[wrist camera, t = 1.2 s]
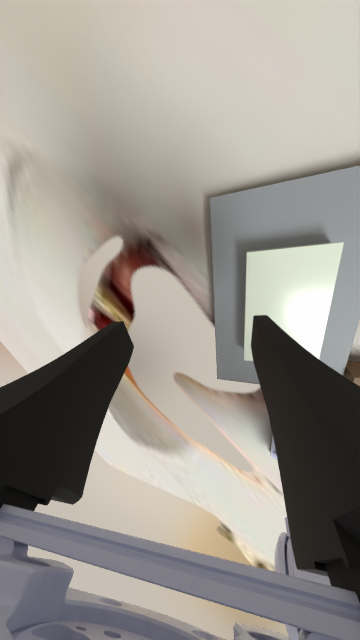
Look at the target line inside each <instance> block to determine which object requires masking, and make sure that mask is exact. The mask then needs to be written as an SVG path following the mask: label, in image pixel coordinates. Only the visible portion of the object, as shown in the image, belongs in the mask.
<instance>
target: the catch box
mask: <svg viewBox="0 0 360 640" xmlns="http://www.w3.org/2000/svg"><path fill="white" fill-rule="evenodd" d="M343 376H344V377H346V378H347V379H349V380H350V381H352V382H354V383H355V384H357V385H358V386H360V362H347V364H346V368H345V371H344V374H343Z"/></svg>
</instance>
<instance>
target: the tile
mask: <svg viewBox="0 0 360 640" xmlns="http://www.w3.org/2000/svg"><path fill="white" fill-rule="evenodd" d="M343 245H344V242H329V243H319V244H310V245H301V246H291V247H282V248H272V249H263V250H254V251H246V288H245V327H244V360H246V361H253V356H252V350H251V337H252V326H253V316H254V315H267V316H268V317H270V318H271V319H272V320H273V321H274V322H275V323H276V324H277V325H278V326H279V327H280V328H281V329H283V330H284V331H285V332H286V333H287V334H288V335H289V336H290V337H292V338H293V339H294V340H295V341H296V342H297V343H299V344H300V345H301V346H302V347H304V348H305V349H306V350H307V351H309V352H310V353H311V354H313V355H314V356H315V357H317V358H318V359H319V356H320V352H321V347H322V342H323V338H324V333H325V328H326V324H327V319H328V314H329V310H330V305H331V301H332V296H333V291H334V287H335V282H336V277H337V273H338V268H339V264H340V259H341V254H342V250H343Z"/></svg>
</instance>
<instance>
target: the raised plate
mask: <svg viewBox="0 0 360 640" xmlns="http://www.w3.org/2000/svg"><path fill="white" fill-rule="evenodd" d="M210 220H211V244H212V267H213V290H214V313H215V336H216V359H217V379H222V380H230V381H238V382H247V383H253V384H260V383H259V379H258V376H257V373H256V369H255V366H254V362H253V361H246V360H244V327H245V288H246V251H254V250H263V249H272V248H282V247H291V246H301V245H310V244H319V243H329V242H344V245H343V250H342V254H341V259H340V264H339V268H338V273H337V277H336V282H335V287H334V291H333V296H332V301H331V305H330V310H329V314H328V319H327V324H326V328H325V333H324V338H323V342H322V347H321V352H320V356H319V360H321V361H322V362H323V363H325V364H326V365H328V366H329V367H331V368H332V369H334V370H335V371H337V372H338V373H340V374H341V375H343V374H344V371H345V368H346V364H347V361H348V357H349V354H350V350H351V347H352V343H353V340H354V336H355V333H356V330H357V326H358V323H359V319H360V165H359V166H355V167H350V168H346V169H341V170H336V171H332V172H327V173H322V174H318V175H313V176H309V177H304V178H299V179H295V180H290V181H285V182H281V183H276V184H272V185H267V186H262V187H258V188H253V189H248V190H244V191H239V192H235V193H230V194H225V195H221V196H216V197H211V198H210Z"/></svg>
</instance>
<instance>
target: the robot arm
mask: <svg viewBox="0 0 360 640" xmlns="http://www.w3.org/2000/svg"><path fill="white" fill-rule="evenodd" d="M133 348H134V346H133V343H132V341H131V339H130V336H129V334H128V332H127V329H126V327H125V325H124V322H123V321H121V322H113V323H111V324H109V325H108V326H106V327H104V328H103V329H101V330H100V331H98V332H97V333H95V334H94V335H92V336H91V337H90V338H88V339H87V340H85V341H84V342H82V343H81V344H79V345H78V346H76V347H75V348H73V349H71V350H70V351H68V352H67V353H65V354H64V355H62V356H60V357H59V358H57V359H55V360H54V361H52V362H50V363H48V364H47V365H45V366H43V367H41V368H39V369H37V370H36V371H34V372H32V373H30V374H28V375H25V376H23V377H21V378H19V379H17V380H15V381H13V382H11V383H9V384H7V385H5V386H2V387H0V640H225V639H223V638H221V637H218V636H216V635H214V634H211V633H209V632H207V631H204V630H202V629H199V628H197V627H195V626H192V625H190V624H188V623H185V622H183V621H180V620H177V619H175V618H172V617H169V616H167V615H164V614H161V613H158V612H154V611H151V610H148V609H145V608H142V607H139V606H135V605H132V604H128V603H125V602H121V601H117V600H114V599H109V598H106V597H102V596H99V595H95V594H91V593H87V592H84V591H80V590H76V589H72V588H69V584H70V581H71V578H72V576H73V568H71V567H69V566H68V565H66V564H64V563H62V562H59V561H55V560H50V559H43V558H36V557H28V556H27V550H28V545H29V546H33V547H36V548H39V549H42V550H46V551H49V552H53V553H56V554H59V555H62V556H65V557H68V558H72V559H75V560H78V561H82V562H85V563H88V564H91V565H94V566H98V567H101V568H104V569H107V570H111V571H114V572H117V573H120V574H124V575H127V576H130V577H134V578H137V579H140V580H143V581H147V582H150V583H153V584H156V585H160V586H163V587H166V588H170V589H173V590H176V591H179V592H182V593H186V594H189V595H192V596H195V597H199V598H202V599H205V600H208V601H212V602H215V603H218V604H221V605H225V606H228V607H231V608H234V609H238V610H241V611H244V612H247V613H251V614H254V615H257V616H260V617H264V618H267V619H270V620H273V621H277V622H280V623H283V624H285V625H286V629H287V632H288V635H289V637H288V636H286V635H283V634H281V633H279V632H276V631H273V630H269V629H266V628H261V627H256V626H252V625H247V624H242V623H238V622H236V623H235V625H234V640H360V386H358V385H357V384H355V383H354V382H352V381H350V380H349V379H347V378H346V377H344V376H343V375H341V374H340V373H338V372H337V371H335V370H334V369H332V368H331V367H329V366H328V365H326V364H325V363H323V362H322V361H321V360H319V359H318V358H317V357H315V356H314V355H313V354H311V353H310V352H309V351H307V350H306V349H305V348H304V347H302V346H301V345H300V344H299V343H297V342H296V341H295V340H294V339H293V338H292V337H290V336H289V335H288V334H287V333H286V332H285V331H284V330H283V329H281V328H280V327H279V326H278V325H277V324H276V323H275V322H274V321H273V320H272V319H271V318H270V317H268V316H267V315H254V316H253V326H252V337H251V350H252V356H253V362H254V366H255V369H256V373H257V376H258V379H259V383H260V386H261V389H262V393H263V396H264V399H265V402H266V406H267V410H268V414H269V418H270V423H271V428H272V433H273V436H272V444H271V453H270V454H271V457H272V458H274V459H278V465H279V470H280V476H281V482H282V488H283V493H284V500H285V506H286V512H287V517H286V518H285V522H286V529H287V533H285V532H283V533H281V534H280V536H279V539H278V543H277V545H276V550H275V572H273V571H269V570H265V569H261V568H257V567H253V566H249V565H245V564H241V563H237V562H233V561H229V560H225V559H221V558H217V557H213V556H209V555H205V554H201V553H197V552H193V551H190V550H185V549H181V548H177V547H173V546H169V545H165V544H161V543H157V542H153V541H150V540H146V539H142V538H137V537H133V536H129V535H126V534H122V533H118V532H114V531H110V530H105V529H101V528H98V527H94V526H90V525H86V524H82V523H78V522H74V521H70V520H66V519H62V518H58V517H54V516H50V515H46V514H42V513H38V512H34V510H35V508H36V506H37V504H43V505H48V504H49V502H50V500H55V501H59V502H64V503H68V504H75V503H76V502H77V501H79V500H80V498H81V497H82V495H83V490H84V486H85V482H86V478H87V474H88V470H89V466H90V463H91V459H92V456H93V452H94V449H95V445H96V442H97V439H98V436H99V433H100V430H101V427H102V424H103V421H104V418H105V415H106V412H107V410H108V407H109V404H110V402H111V399H112V397H113V395H114V393H115V391H116V389H117V387H118V385H119V383H120V380H121V378H122V376H123V374H124V372H125V370H126V368H127V366H128V363H129V361H130V358H131V355H132V352H133Z"/></svg>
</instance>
